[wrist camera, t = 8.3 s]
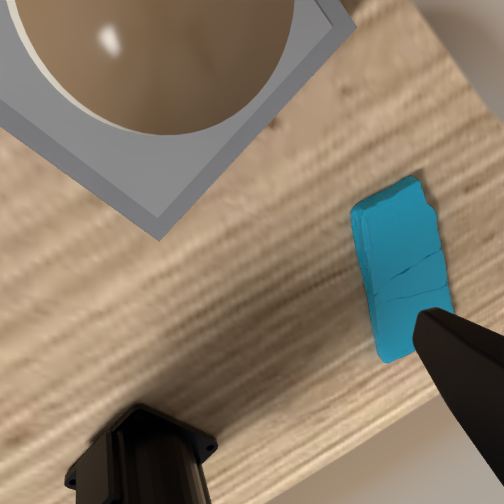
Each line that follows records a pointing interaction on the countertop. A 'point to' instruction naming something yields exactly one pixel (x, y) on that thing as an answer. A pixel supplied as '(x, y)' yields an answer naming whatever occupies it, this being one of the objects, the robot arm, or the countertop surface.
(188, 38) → the spice jar
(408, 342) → the sponge
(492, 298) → the countertop surface
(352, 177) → the countertop surface
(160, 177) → the slate trivet
